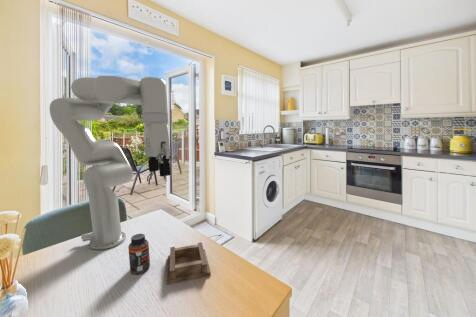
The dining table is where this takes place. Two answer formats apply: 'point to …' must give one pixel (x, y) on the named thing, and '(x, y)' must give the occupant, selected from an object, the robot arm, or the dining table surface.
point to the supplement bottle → (139, 254)
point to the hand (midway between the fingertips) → (159, 173)
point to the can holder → (187, 263)
